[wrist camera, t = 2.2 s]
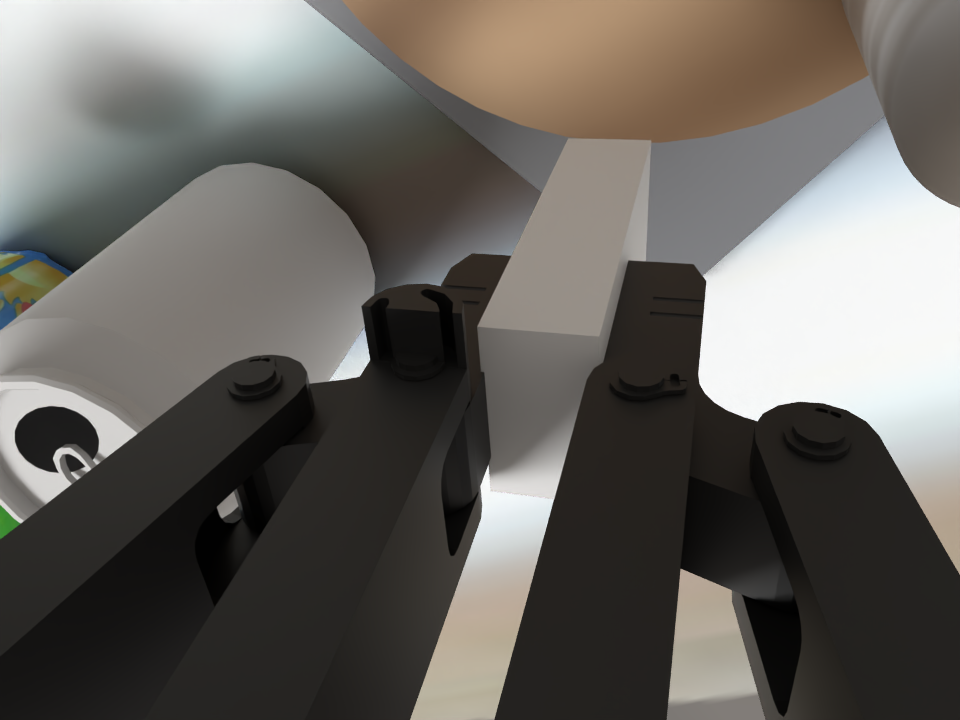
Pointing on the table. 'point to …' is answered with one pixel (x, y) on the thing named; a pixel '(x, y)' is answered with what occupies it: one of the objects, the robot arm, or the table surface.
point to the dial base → (671, 157)
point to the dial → (690, 65)
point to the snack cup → (24, 304)
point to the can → (175, 321)
